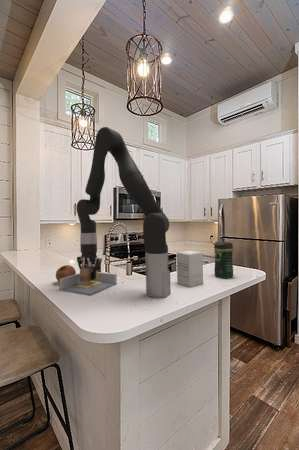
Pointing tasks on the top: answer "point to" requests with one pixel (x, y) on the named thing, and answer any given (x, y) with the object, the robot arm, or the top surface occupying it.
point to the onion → (65, 272)
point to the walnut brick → (86, 274)
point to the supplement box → (190, 268)
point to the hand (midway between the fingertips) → (89, 278)
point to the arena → (88, 283)
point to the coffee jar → (223, 259)
